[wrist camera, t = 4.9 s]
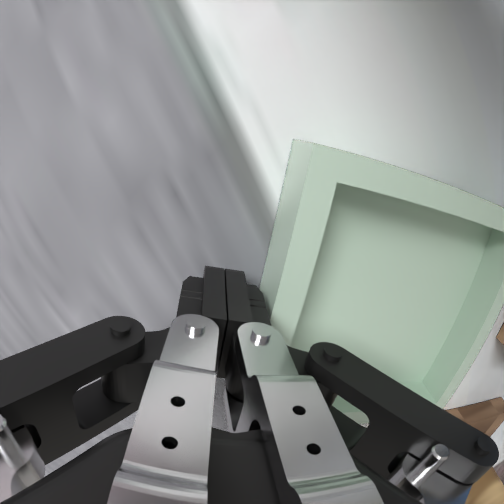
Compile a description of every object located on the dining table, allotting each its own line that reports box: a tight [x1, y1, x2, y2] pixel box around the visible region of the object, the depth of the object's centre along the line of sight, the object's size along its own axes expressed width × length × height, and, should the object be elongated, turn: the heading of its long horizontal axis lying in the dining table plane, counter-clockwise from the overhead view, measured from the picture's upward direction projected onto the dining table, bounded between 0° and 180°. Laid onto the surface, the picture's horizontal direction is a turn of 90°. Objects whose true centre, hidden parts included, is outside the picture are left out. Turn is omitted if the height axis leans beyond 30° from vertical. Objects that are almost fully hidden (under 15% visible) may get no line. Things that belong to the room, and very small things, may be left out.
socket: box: [445, 397, 504, 437], centre depth 21 cm, size 9×9×2 cm
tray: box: [259, 139, 504, 424], centre depth 13 cm, size 12×12×3 cm
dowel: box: [465, 467, 504, 504], centre depth 15 cm, size 4×4×15 cm
